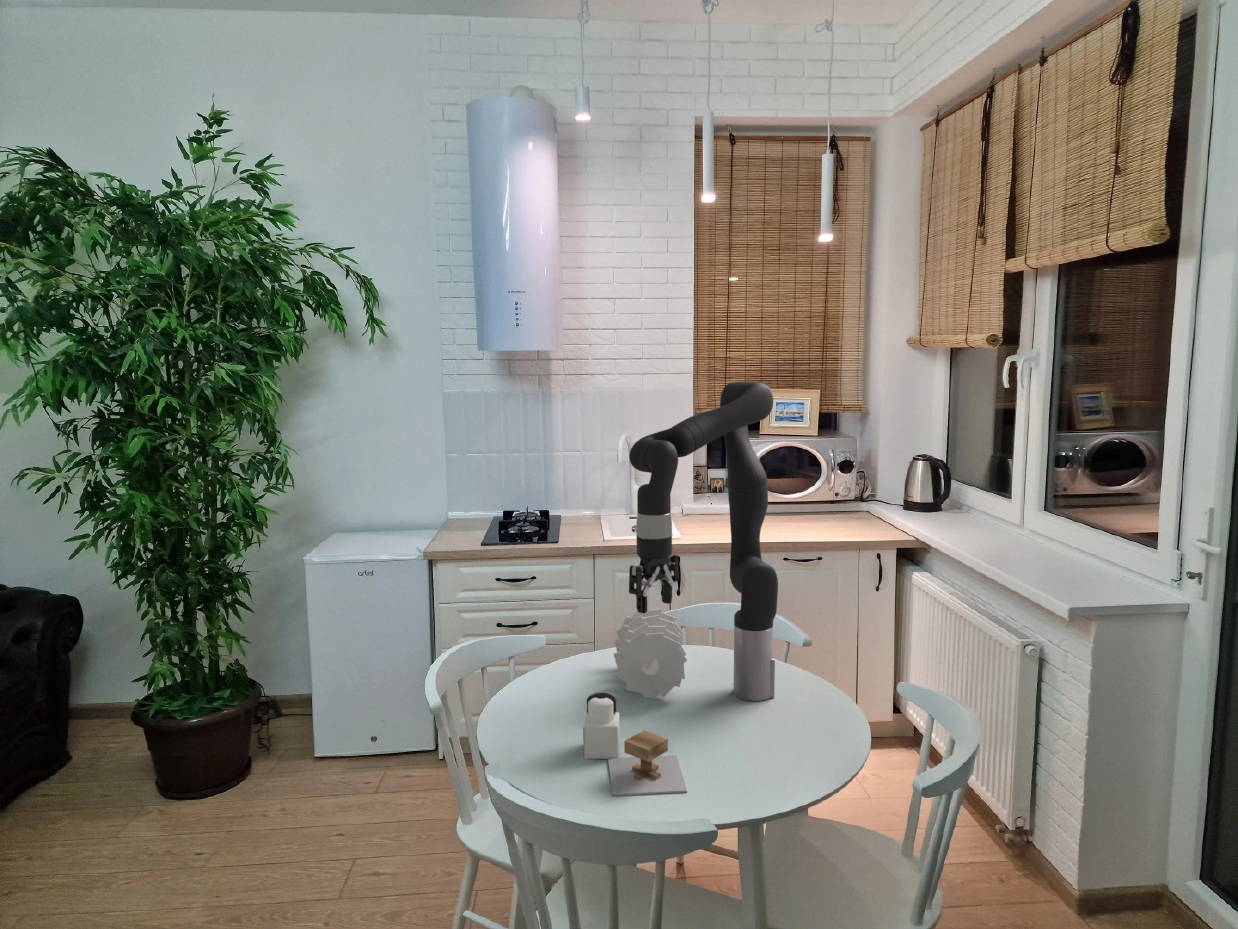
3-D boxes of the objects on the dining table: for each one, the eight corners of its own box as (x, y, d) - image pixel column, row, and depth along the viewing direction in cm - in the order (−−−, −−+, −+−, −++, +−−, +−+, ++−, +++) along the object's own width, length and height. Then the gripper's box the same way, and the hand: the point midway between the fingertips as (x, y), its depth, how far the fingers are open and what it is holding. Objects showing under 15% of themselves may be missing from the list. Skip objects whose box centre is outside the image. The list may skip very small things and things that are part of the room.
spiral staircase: (664, 680, 222) (669, 716, 197) (604, 652, 221) (601, 685, 196) (694, 619, 220) (703, 647, 195) (633, 591, 220) (634, 616, 195)
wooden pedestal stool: (644, 763, 168) (643, 730, 167) (667, 773, 164) (667, 739, 163) (624, 775, 163) (624, 741, 162) (648, 785, 159) (648, 750, 158)
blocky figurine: (586, 743, 177) (585, 689, 176) (619, 743, 177) (619, 689, 176) (583, 759, 170) (582, 703, 169) (618, 759, 170) (618, 703, 168)
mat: (676, 757, 171) (676, 755, 171) (687, 792, 157) (687, 790, 157) (608, 760, 170) (607, 758, 170) (612, 796, 156) (612, 794, 156)
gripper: (660, 525, 184) (661, 597, 187) (618, 537, 174) (619, 612, 176) (688, 530, 180) (688, 603, 182) (647, 541, 169) (647, 619, 171)
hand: (654, 607), depth 179 cm, fingers open, 8 cm apart
